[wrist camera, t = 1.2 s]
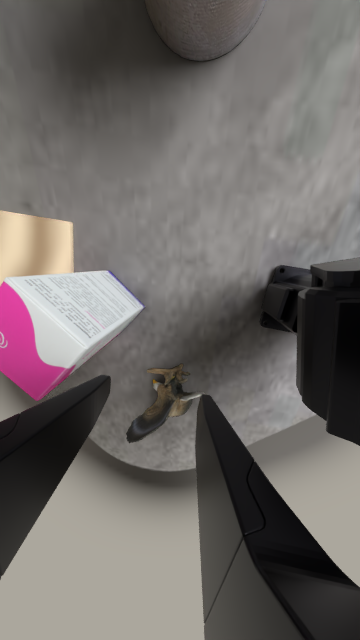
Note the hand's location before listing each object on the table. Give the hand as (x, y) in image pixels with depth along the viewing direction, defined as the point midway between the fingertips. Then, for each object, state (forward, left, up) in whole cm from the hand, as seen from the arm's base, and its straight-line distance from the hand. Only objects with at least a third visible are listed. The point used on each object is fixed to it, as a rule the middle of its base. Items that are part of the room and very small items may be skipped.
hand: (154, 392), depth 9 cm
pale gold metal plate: (+17, -1, -13) cm, 21 cm away
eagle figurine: (0, +10, -13) cm, 16 cm away
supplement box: (+8, 0, -13) cm, 15 cm away
